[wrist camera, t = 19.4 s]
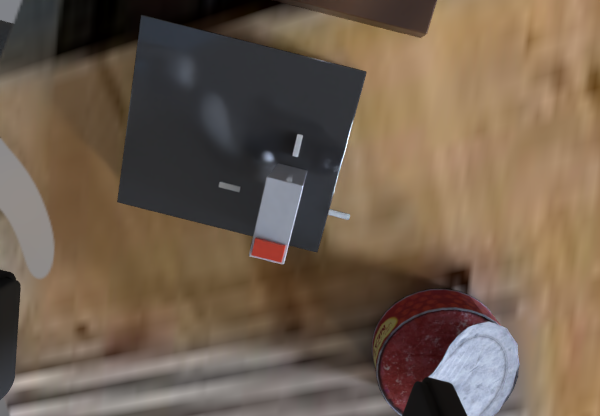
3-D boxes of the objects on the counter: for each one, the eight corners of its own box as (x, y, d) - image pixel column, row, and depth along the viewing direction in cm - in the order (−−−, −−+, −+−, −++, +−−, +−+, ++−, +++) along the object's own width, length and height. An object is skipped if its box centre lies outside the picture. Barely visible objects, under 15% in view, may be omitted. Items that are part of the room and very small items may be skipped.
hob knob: (277, 163, 26) (265, 177, 21) (307, 170, 26) (303, 186, 21) (262, 229, 27) (247, 257, 22) (291, 236, 27) (283, 267, 22)
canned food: (420, 261, 34) (508, 262, 25) (487, 353, 35) (599, 389, 25) (322, 352, 31) (379, 393, 22) (397, 452, 32) (486, 535, 22)
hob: (131, 212, 30) (113, 222, 27) (157, 22, 26) (139, 13, 24) (331, 262, 30) (332, 277, 27) (383, 79, 27) (389, 76, 24)
